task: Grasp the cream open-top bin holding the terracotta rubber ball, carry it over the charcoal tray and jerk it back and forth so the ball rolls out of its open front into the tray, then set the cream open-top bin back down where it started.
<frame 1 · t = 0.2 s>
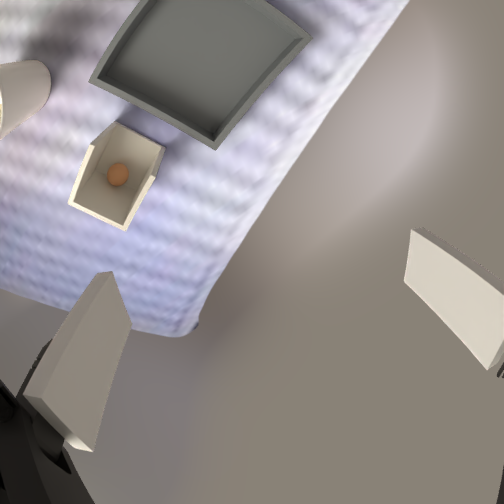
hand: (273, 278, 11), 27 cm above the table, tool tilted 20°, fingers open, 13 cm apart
candle holder: (29, 87, 22), on the table
cream open-top bin: (126, 158, 33), on the table, touching ball
tray: (198, 49, 25), on the table
ball: (117, 174, 32), point 2 cm above the table, touching cream open-top bin
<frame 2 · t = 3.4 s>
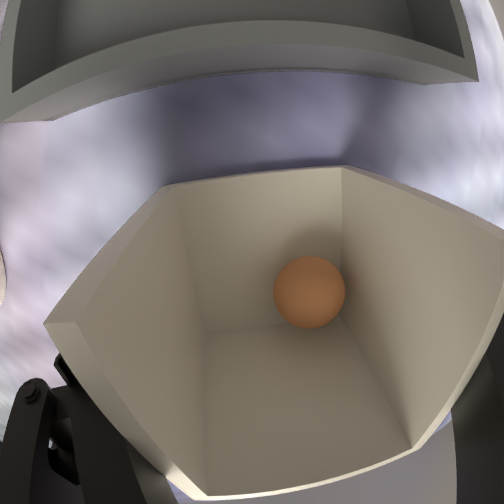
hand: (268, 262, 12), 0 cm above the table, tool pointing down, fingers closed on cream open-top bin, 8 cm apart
cream open-top bin: (266, 259, 13), on the table, touching ball, gripper
ball: (309, 292, 11), point 2 cm above the table, tilted 62°, touching cream open-top bin
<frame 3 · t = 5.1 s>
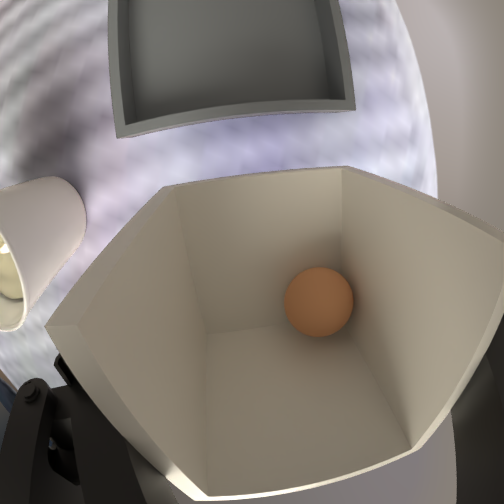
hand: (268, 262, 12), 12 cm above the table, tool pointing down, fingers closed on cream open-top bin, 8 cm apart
candle holder: (55, 216, 22), on the table
cream open-top bin: (266, 259, 13), point 12 cm above the table, touching ball, gripper
tray: (224, 26, 17), on the table
ball: (318, 302, 12), point 14 cm above the table, tilted 68°, touching cream open-top bin
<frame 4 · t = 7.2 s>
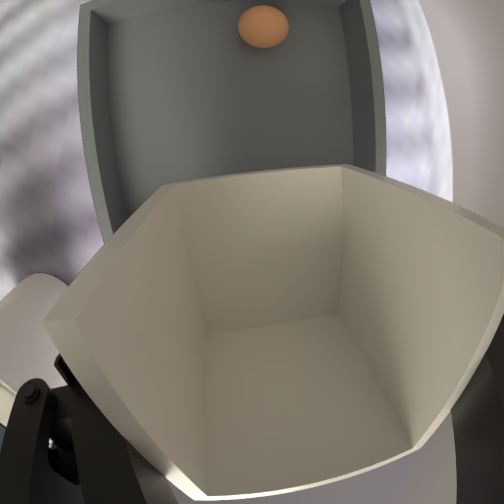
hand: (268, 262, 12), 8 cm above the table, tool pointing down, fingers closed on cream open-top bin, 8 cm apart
candle holder: (54, 308, 21), on the table
cream open-top bin: (266, 258, 13), point 7 cm above the table, touching gripper
tray: (232, 106, 16), on the table
ball: (263, 26, 12), point 2 cm above the table, tilted 111°, touching tray
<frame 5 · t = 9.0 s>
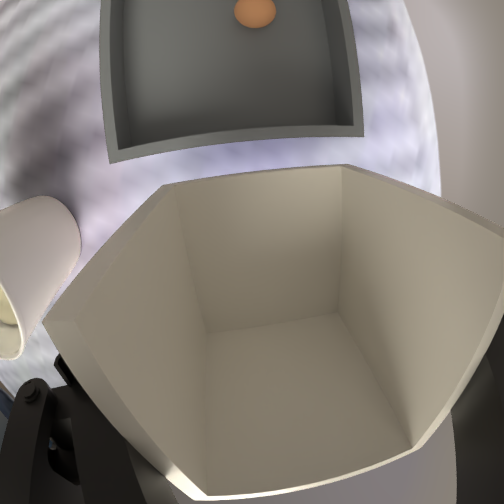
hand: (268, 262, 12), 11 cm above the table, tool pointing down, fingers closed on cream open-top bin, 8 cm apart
candle holder: (48, 235, 21), on the table
cream open-top bin: (266, 258, 13), point 11 cm above the table, touching gripper
tray: (225, 37, 17), on the table
ball: (255, 10, 14), point 2 cm above the table, tilted 94°, touching tray
when the fingers open (2 cm above the table, at t = 11.5 s): cream open-top bin drops 1 cm, on the table.
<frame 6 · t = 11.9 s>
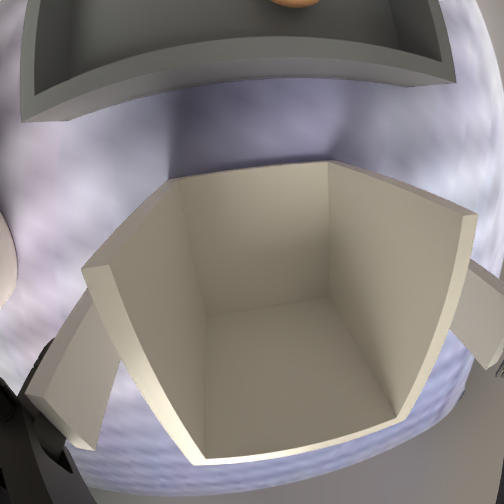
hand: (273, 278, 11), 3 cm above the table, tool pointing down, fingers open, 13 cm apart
cream open-top bin: (261, 245, 14), on the table
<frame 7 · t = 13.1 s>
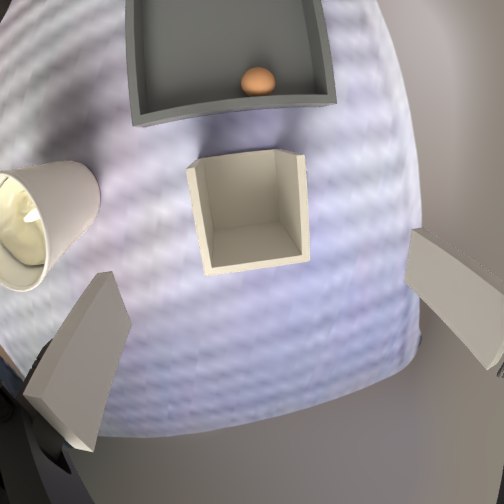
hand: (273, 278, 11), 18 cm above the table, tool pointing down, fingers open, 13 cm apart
candle holder: (70, 196, 25), on the table
cream open-top bin: (243, 192, 27), on the table
tray: (225, 32, 20), on the table
ball: (258, 82, 21), point 2 cm above the table, tilted 121°, touching tray
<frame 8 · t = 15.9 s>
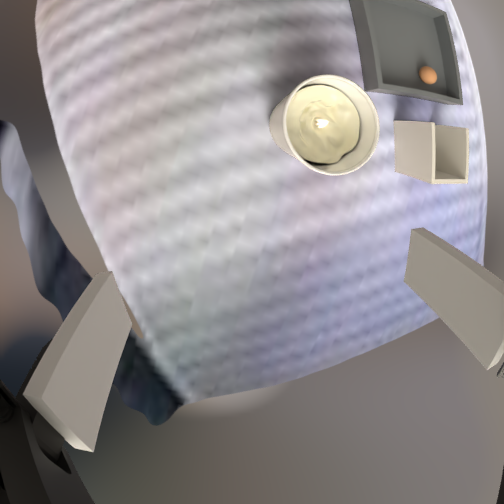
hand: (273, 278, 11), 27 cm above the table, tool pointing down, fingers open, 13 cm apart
candle holder: (299, 126, 34), on the table
cream open-top bin: (413, 146, 36), on the table
tray: (404, 47, 29), on the table
ball: (428, 75, 29), point 2 cm above the table, tilted 120°, touching tray
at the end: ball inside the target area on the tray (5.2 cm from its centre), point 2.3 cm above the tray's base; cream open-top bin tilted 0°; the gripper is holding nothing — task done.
